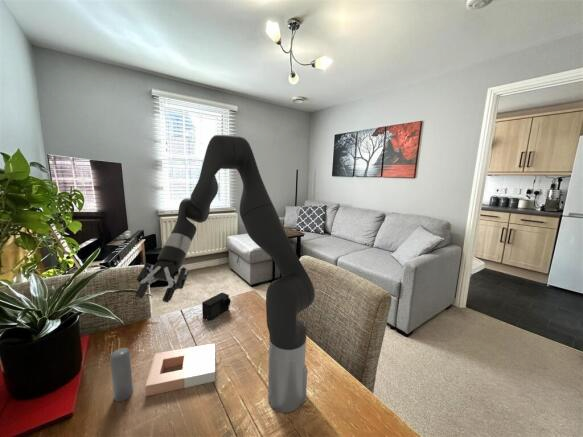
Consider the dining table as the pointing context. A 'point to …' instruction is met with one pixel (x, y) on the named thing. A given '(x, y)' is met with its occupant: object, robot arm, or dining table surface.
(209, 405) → the dining table surface
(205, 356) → the block
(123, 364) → the pin
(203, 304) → the digital camera
